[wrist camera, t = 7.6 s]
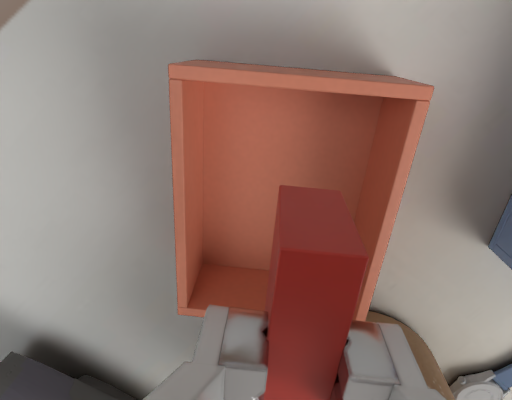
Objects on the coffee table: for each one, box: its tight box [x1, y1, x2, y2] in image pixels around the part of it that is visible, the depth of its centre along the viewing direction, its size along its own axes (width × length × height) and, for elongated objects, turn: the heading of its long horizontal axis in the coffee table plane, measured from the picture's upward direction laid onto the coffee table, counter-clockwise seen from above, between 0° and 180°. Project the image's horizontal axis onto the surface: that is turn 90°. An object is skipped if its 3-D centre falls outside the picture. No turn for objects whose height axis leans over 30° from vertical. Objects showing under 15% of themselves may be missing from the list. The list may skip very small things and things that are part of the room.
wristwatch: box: [449, 364, 512, 400], centre depth 27 cm, size 4×20×1 cm, turn 136°
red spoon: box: [264, 185, 369, 400], centre depth 9 cm, size 10×4×3 cm, turn 176°
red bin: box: [168, 60, 434, 321], centre depth 19 cm, size 14×11×5 cm
